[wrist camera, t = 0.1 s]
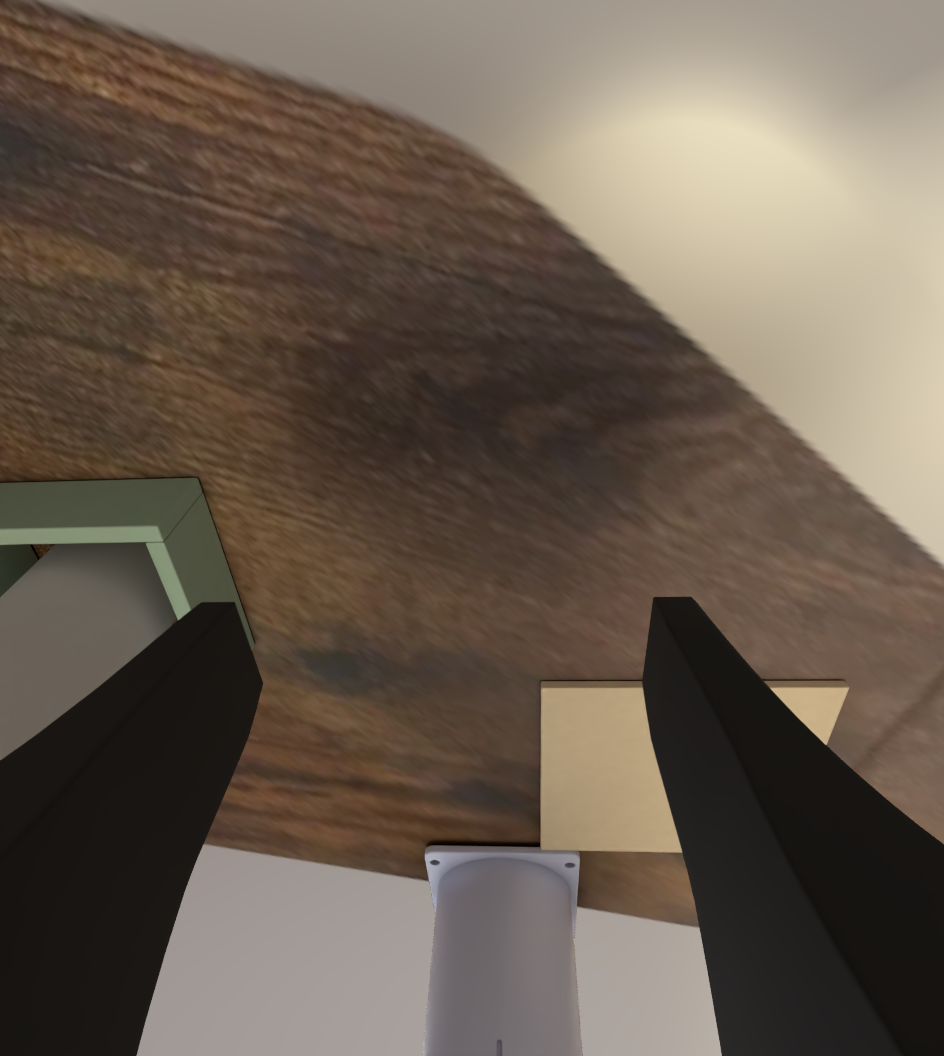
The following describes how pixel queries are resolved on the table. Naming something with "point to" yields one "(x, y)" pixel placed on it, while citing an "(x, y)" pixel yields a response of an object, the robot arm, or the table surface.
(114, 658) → the beverage can
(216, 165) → the table surface
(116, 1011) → the robot arm
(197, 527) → the divided storage tray
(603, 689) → the mat
